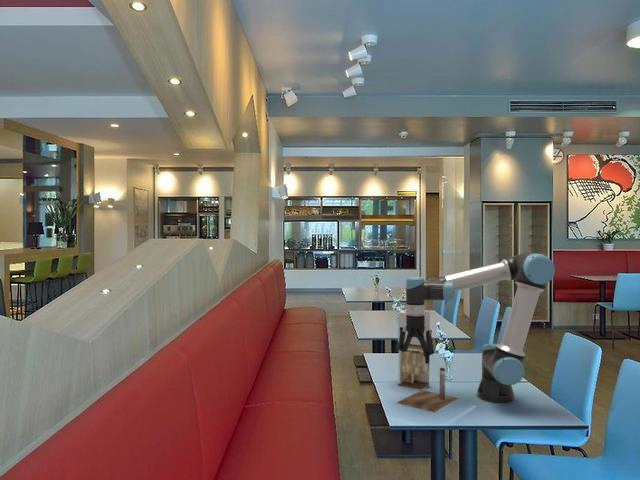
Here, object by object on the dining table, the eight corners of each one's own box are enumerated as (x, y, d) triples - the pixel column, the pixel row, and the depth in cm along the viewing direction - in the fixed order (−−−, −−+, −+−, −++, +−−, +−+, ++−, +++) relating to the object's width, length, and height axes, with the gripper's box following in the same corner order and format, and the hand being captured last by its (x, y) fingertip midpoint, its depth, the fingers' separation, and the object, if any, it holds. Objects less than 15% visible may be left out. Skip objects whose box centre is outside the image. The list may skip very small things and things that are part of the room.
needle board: (458, 401, 219) (458, 367, 219) (434, 416, 202) (434, 378, 202) (422, 393, 230) (422, 360, 230) (396, 406, 213) (396, 371, 212)
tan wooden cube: (429, 370, 215) (428, 351, 214) (419, 375, 208) (419, 355, 208) (411, 367, 220) (411, 348, 219) (402, 371, 213) (402, 352, 213)
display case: (397, 388, 236) (398, 312, 236) (405, 382, 246) (406, 309, 245) (421, 392, 231) (422, 314, 230) (429, 386, 240) (430, 311, 239)
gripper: (388, 313, 217) (389, 367, 218) (434, 318, 204) (434, 375, 204) (398, 311, 223) (398, 363, 223) (442, 315, 210) (443, 371, 210)
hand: (415, 369), depth 214 cm, fingers closed on tan wooden cube, 8 cm apart
